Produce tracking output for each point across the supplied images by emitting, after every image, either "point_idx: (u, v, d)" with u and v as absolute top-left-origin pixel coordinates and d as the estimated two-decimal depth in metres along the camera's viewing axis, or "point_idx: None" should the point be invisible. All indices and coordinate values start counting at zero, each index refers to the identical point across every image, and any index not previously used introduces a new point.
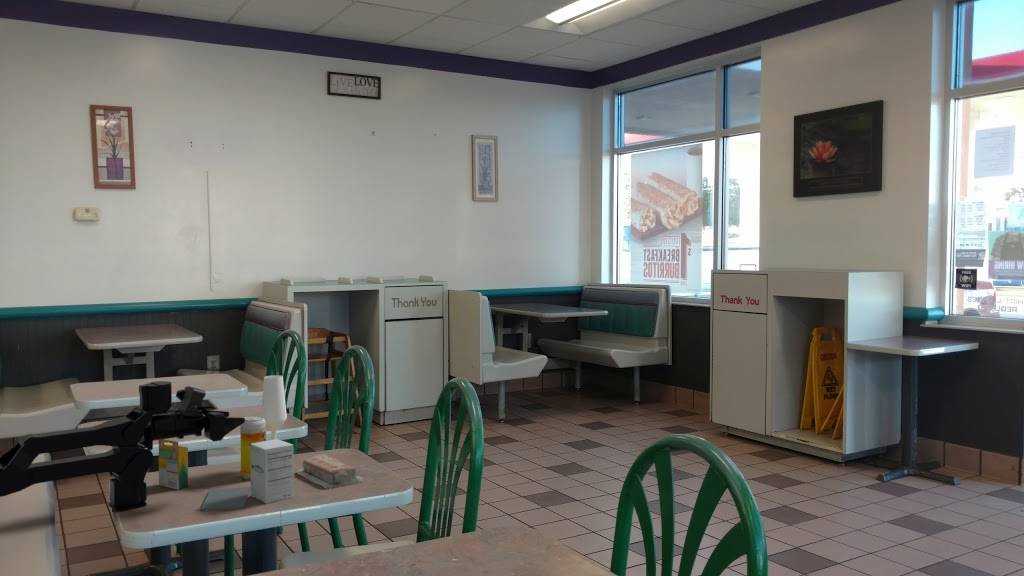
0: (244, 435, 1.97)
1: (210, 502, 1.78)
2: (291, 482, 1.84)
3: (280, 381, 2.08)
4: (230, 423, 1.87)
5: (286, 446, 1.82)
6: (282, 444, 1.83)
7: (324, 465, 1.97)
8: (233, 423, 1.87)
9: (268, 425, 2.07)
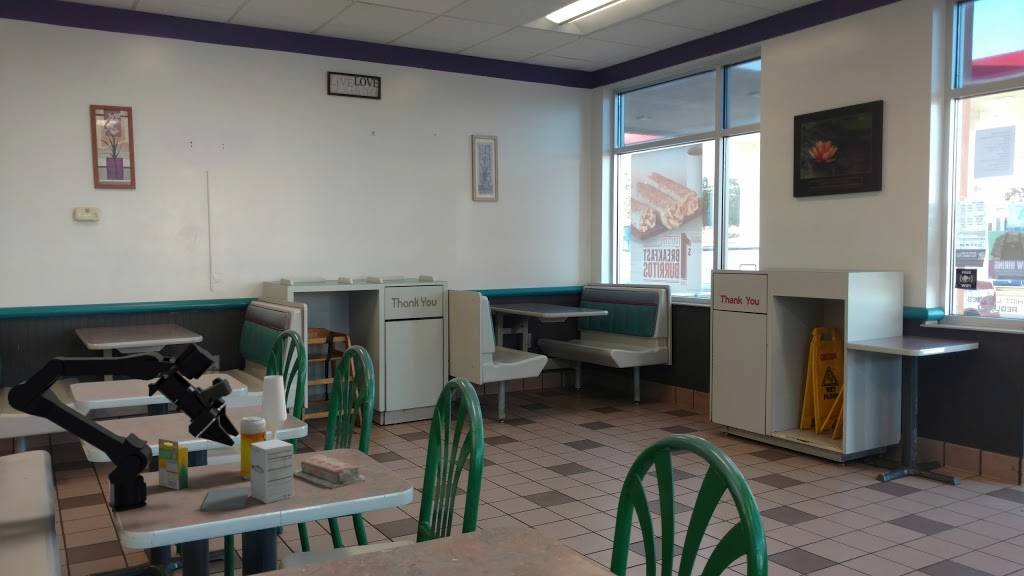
0: (244, 435, 1.97)
1: (210, 502, 1.78)
2: (291, 482, 1.84)
3: (280, 381, 2.08)
4: (218, 434, 1.76)
5: (286, 446, 1.82)
6: (282, 444, 1.83)
7: (326, 465, 1.97)
8: (220, 437, 1.76)
9: (268, 425, 2.07)
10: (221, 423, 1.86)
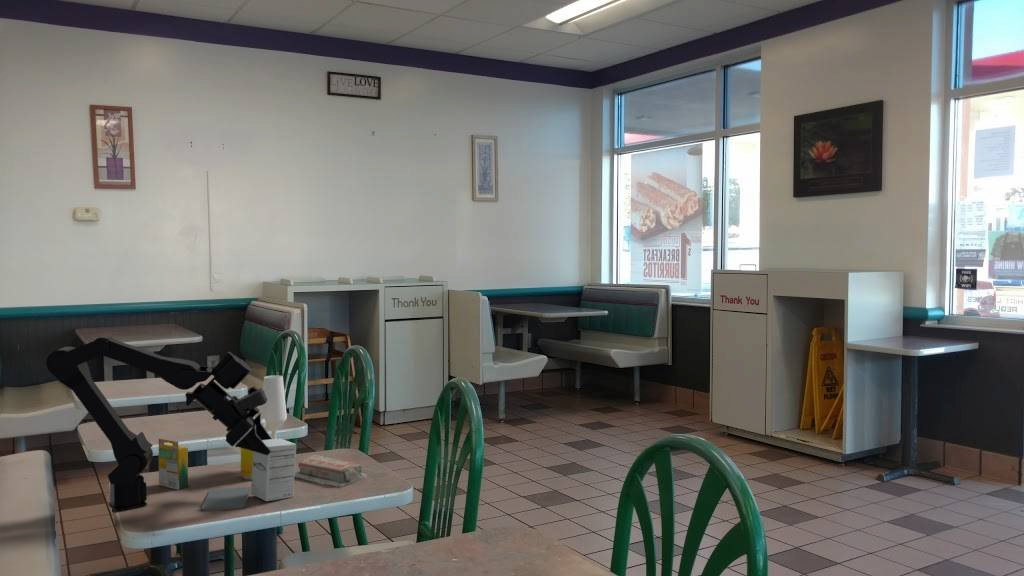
0: None
1: (210, 502, 1.78)
2: (292, 481, 1.84)
3: (280, 381, 2.08)
4: (254, 443, 1.77)
5: (289, 445, 1.83)
6: (285, 443, 1.84)
7: (328, 465, 1.97)
8: (257, 446, 1.77)
9: (268, 425, 2.07)
10: (256, 432, 1.87)
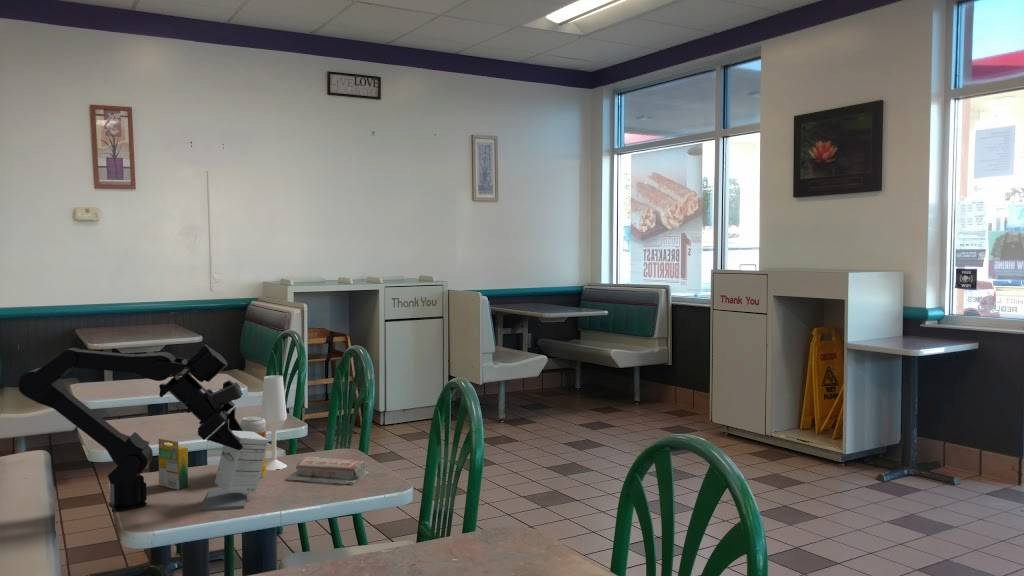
0: None
1: (210, 502, 1.78)
2: (258, 477, 1.82)
3: (280, 381, 2.08)
4: (227, 437, 1.76)
5: (261, 439, 1.82)
6: (257, 437, 1.82)
7: (332, 464, 1.98)
8: (229, 440, 1.76)
9: (268, 425, 2.07)
10: (230, 426, 1.86)
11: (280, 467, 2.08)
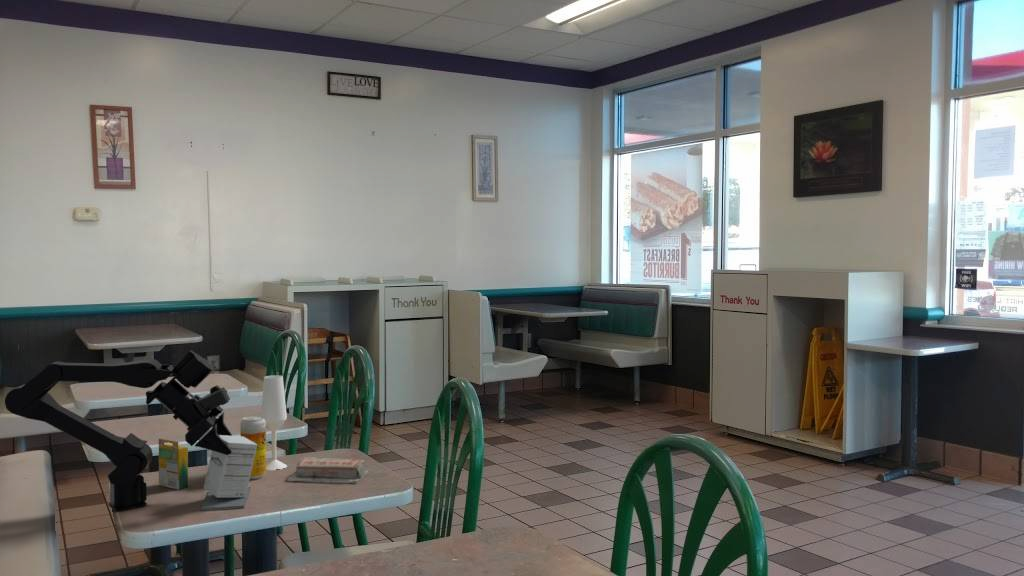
0: (244, 435, 1.97)
1: (210, 502, 1.78)
2: (246, 482, 1.82)
3: (280, 381, 2.08)
4: (215, 443, 1.75)
5: (250, 444, 1.81)
6: (246, 441, 1.82)
7: (334, 464, 1.98)
8: (217, 445, 1.76)
9: (268, 425, 2.07)
10: (218, 431, 1.86)
11: (280, 467, 2.08)
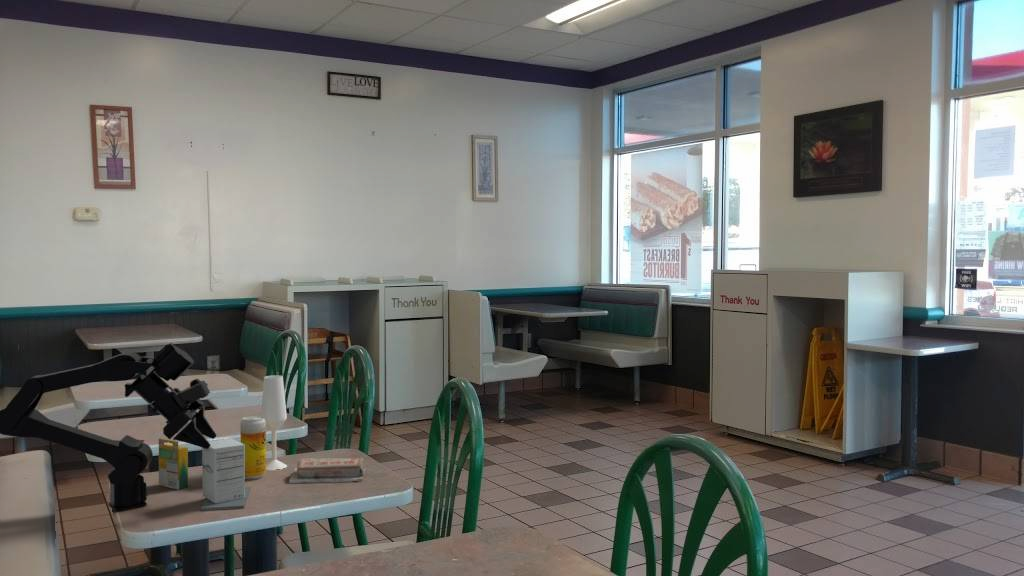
0: (244, 435, 1.97)
1: (210, 502, 1.78)
2: (242, 482, 1.81)
3: (280, 381, 2.08)
4: (194, 436, 1.74)
5: (237, 446, 1.80)
6: (233, 444, 1.81)
7: (336, 463, 1.99)
8: (196, 439, 1.75)
9: (268, 425, 2.07)
10: (199, 425, 1.85)
11: (280, 467, 2.08)
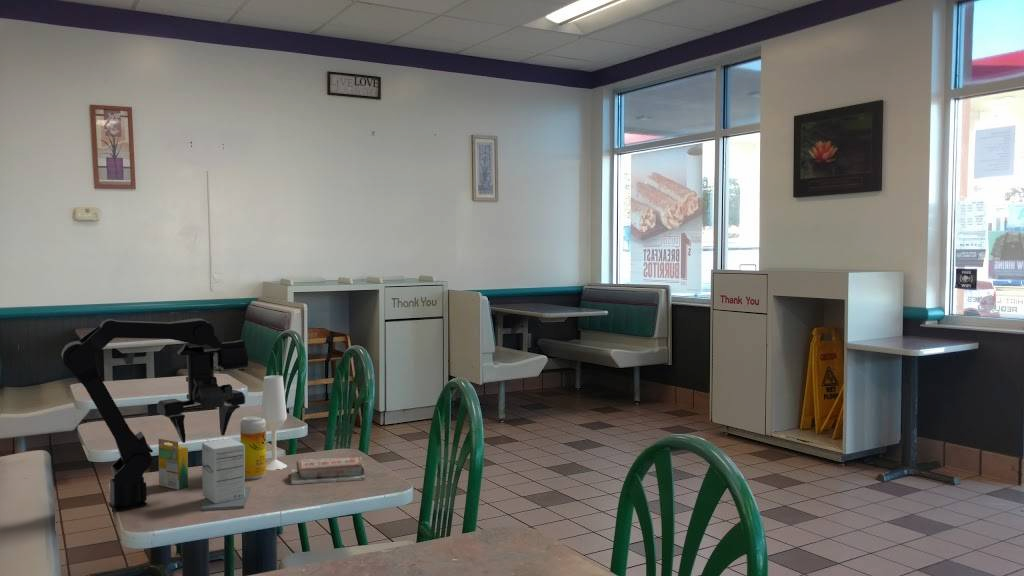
0: (244, 435, 1.97)
1: (210, 502, 1.78)
2: (242, 482, 1.81)
3: (280, 381, 2.08)
4: (177, 426, 1.81)
5: (237, 446, 1.80)
6: (233, 444, 1.81)
7: (337, 463, 1.99)
8: (177, 429, 1.81)
9: (268, 425, 2.07)
10: (222, 415, 1.89)
11: (280, 467, 2.08)
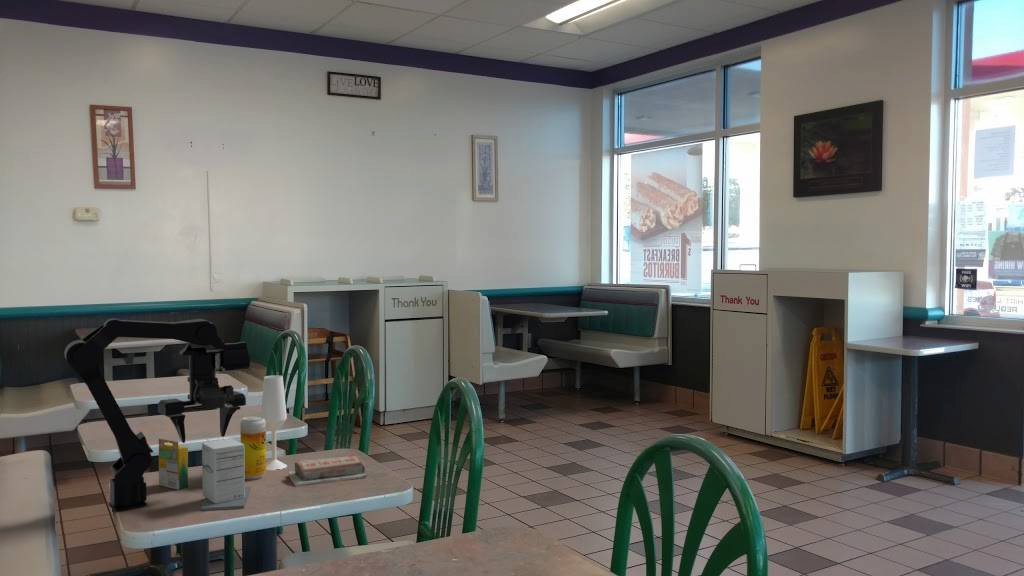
0: (244, 435, 1.97)
1: (210, 502, 1.78)
2: (242, 482, 1.81)
3: (280, 381, 2.08)
4: (177, 426, 1.81)
5: (237, 446, 1.80)
6: (233, 444, 1.81)
7: (338, 462, 2.00)
8: (177, 429, 1.82)
9: (268, 425, 2.07)
10: (222, 416, 1.89)
11: (280, 467, 2.08)
